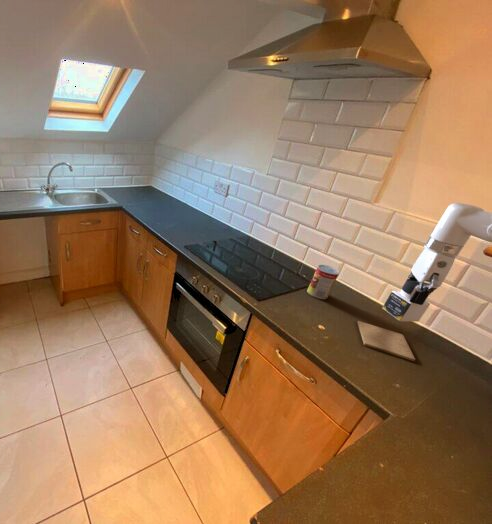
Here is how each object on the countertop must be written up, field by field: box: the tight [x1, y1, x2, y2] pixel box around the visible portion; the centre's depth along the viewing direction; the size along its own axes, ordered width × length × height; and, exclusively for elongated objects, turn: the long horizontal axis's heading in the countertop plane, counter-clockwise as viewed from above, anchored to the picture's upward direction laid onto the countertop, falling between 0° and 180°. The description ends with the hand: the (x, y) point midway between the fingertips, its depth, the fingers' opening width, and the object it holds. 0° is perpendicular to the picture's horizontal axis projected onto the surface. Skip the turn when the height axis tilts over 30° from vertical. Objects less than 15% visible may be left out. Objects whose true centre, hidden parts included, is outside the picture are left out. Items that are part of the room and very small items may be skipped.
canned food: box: [306, 264, 340, 300], centre depth 125 cm, size 8×8×12 cm
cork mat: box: [357, 320, 416, 362], centre depth 103 cm, size 14×14×1 cm
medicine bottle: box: [382, 280, 431, 323], centre depth 96 cm, size 7×7×12 cm
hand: (411, 296), depth 95 cm, fingers closed on medicine bottle, 7 cm apart
